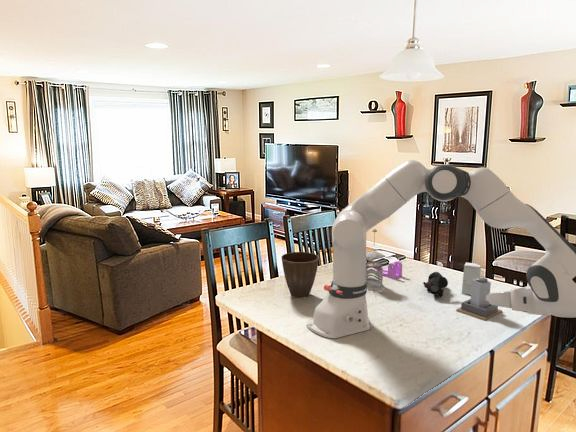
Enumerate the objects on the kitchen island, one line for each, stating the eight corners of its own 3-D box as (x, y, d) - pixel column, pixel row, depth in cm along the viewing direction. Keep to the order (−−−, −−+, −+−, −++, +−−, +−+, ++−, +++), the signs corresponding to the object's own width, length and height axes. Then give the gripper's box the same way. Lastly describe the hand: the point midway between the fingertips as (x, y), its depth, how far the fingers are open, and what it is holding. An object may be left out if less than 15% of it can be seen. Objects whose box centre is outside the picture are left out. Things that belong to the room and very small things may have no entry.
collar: (485, 320, 152) (485, 312, 152) (456, 310, 161) (456, 302, 160) (502, 311, 160) (502, 303, 159) (473, 303, 168) (474, 295, 168)
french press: (385, 290, 182) (387, 231, 177) (357, 289, 184) (358, 231, 179) (384, 283, 192) (386, 226, 187) (357, 281, 193) (358, 226, 189)
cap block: (488, 311, 159) (490, 280, 157) (478, 312, 158) (480, 281, 155) (480, 306, 163) (482, 276, 161) (469, 308, 162) (472, 277, 160)
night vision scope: (434, 289, 190) (454, 277, 186) (432, 305, 173) (453, 292, 170) (422, 275, 190) (442, 262, 186) (419, 289, 174) (440, 276, 170)
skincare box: (461, 293, 178) (463, 264, 176) (463, 290, 182) (465, 262, 180) (477, 296, 175) (480, 267, 173) (479, 292, 179) (481, 264, 177)
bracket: (401, 276, 200) (402, 261, 199) (394, 279, 197) (394, 264, 196) (379, 270, 210) (379, 256, 209) (371, 272, 207) (371, 258, 205)
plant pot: (326, 295, 177) (326, 257, 174) (297, 304, 168) (297, 264, 165) (302, 286, 188) (302, 249, 186) (274, 294, 179) (273, 256, 176)
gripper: (557, 290, 140) (519, 288, 153) (511, 289, 132) (474, 288, 145) (558, 310, 139) (520, 307, 152) (512, 310, 131) (475, 307, 144)
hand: (497, 297), depth 148 cm, fingers open, 8 cm apart
